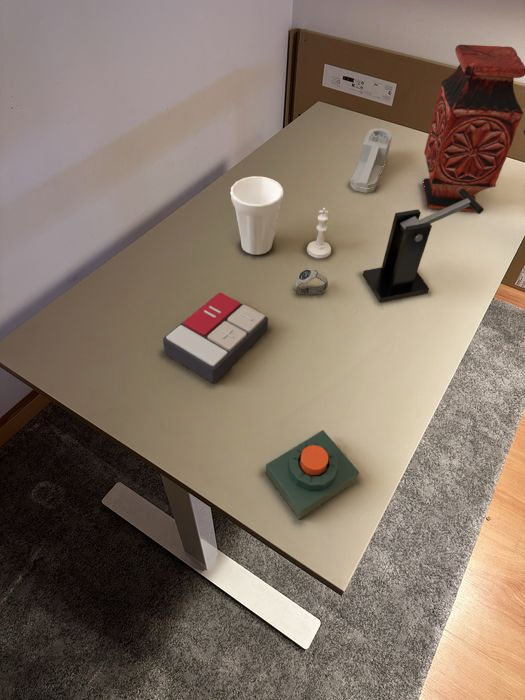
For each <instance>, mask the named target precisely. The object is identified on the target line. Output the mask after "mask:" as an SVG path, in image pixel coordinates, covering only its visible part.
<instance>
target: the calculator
mask: <svg viewBox="0 0 525 700" xmlns="http://www.w3.org/2000/svg"><path fill="white" fill-rule="evenodd" d="M268 327H269V317H267V316H266V315H264V314H263V313H261V312H259V311H257V310H255V309H254V308H251V307H249V306H247V305H245V304H243V303H241V302H240V301H238V300H236V299H234V298H233V297H230V296H229V295H227V294H225V293H223V292H218V293H216V294H215V295H214V296H213V297H211V298H210V299H209V300H208V301H207V302H205V303H204V304H203V305H202V306H201V307H199V308H198V309H197V310H195V312H193V313H192V314H191V315H189V316H188V317H187V318H186V319H185V320H183V321H182V322H180V323H179V324H178V325H177V326H176V327H175V328H173V329H172V330H171V331H170V332H168V333H167V334H166V335H165V336H164V337H162V342H163V351H164V354H165V355H166V356H168V357H169V358H172V360H174V361H176V362H177V363H179V364H181V365H182V366H183V367H185V368H187V369H188V370H191V371H192V372H194V373H195V374H197V375H198V376H200V377H202V378H203V379H205V380H207V381H208V382H210V383H212V384H216V383H217V382H218V381H219V380H220V379H221V378H222V377H224V375H225V374H227V373H228V372H229V371H230V369H231V368H232V365H234V363H236V362H237V360H238V359H240V358H241V357H242V356H243V355H244V354H245V353H246V352H247V351H248V350H249V349H250V348H251V347H252V346H253V345H254V344H255V343H256V342H257V341H258V340H259V339H260V338H261V337H262V336H263V335H264V334H265V333H267V332H268Z"/></svg>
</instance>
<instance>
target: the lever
mask: <svg viewBox="0 0 525 700" xmlns="http://www.w3.org/2000/svg"><path fill="white" fill-rule="evenodd" d="M459 195H460V196H461V197H462V198H463V199H464V200H462V201H460V202H458V203H456V204H453V205H451V206H449V207H447V208H444V209H439V210H437V211H436V212H433V213H432V214H429V215H426V216H424V217H422V218H419V220H418V219H417V218H416V217H415V216H414V217H412V218H410V219H407V220H405V221H403V222H401V223H400V226H401V233H402V234H403V235H404V231H405V228H406V226H412V225H418V224H424V223H430V224H431V225H432V224H433V223H436V222H437V221H441V220H442V219H444V218H447V217H449V216H451V215H453V214H456V213H457V212H461V211H460V210H462V209H465V208H467V207H469V206H471V207H472V208H473V209H474V212H475V213H476V214H478V215H481V214H482V213H483V212H484V207H483V206H482V205H481V204H480V203H479V202H478V201H477V200H475V199H476V198H475V199H474V198H473V197H472V196H471V195H470V194H469V193H468V192H467V191H466V190H465V189H461V190H460V191H459Z"/></svg>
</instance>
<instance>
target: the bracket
mask: <svg viewBox="0 0 525 700" xmlns="http://www.w3.org/2000/svg"><path fill="white" fill-rule="evenodd" d="M421 214H422V211H420V209H418V208H417V209H411V210H406V211H399V212H395V213H394V216H393V221H392V224H391V227H390V228H391V229H390V233H389V236H388V241H387V245H386V249H385V252H384V256H383V261H382V264H381V267H377V268H376V267H375V268H370V269H366V270H363V272H362V277H363V279H364V280H365V282H366V283H367V285H368V287H369V288H370V290H371V291H372V293H373V295H374V296H375V298H376V299H377V301H378V302H379V304H382V303H385V302H390V301H397V300H403V299H406V298H407V299H408V298H412V297H417V296H421V295H427V294H429V292H430V287H429V286H428V284H427V283H426V282H425V281H424V279H423V278H422V276H421V275H420V273H419V272H418V270H419V267H420V264H421V262H422V258H423V255H424V252H425V249H426V246H427V242H428V239H429V236H430V234H431V230H432V227H433V225H432V223H431V224H430V223H424V224H418V225H412V226H406V228H405V231H404V235H403V234H402V233H401V226H400V223H401V222H403V221H405V220H407V219H410V218H412V217H414V216H415V217H416V218H417V219H418V220H420V217H421Z"/></svg>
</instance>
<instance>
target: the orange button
mask: <svg viewBox="0 0 525 700" xmlns="http://www.w3.org/2000/svg"><path fill="white" fill-rule="evenodd" d="M327 464H328V454H327V452H326V451H325V450H324V449H323V448H322V447H320V446H316V445H311V446H308V447H306V448H305V449H304V450H303V451H302V454H301V459H300V465H301V468H302V469H303V471H304V472H305V473H307V474H309V475H313V476H316V475H320V474H322V473H323V472H324V471H325V470H326V468H327Z"/></svg>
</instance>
